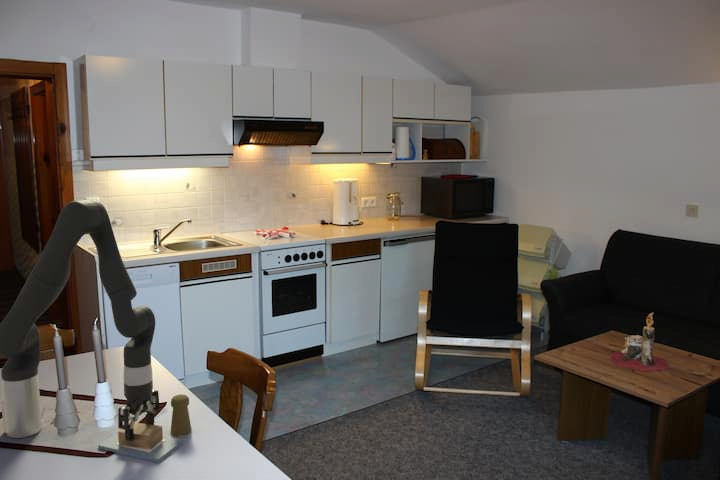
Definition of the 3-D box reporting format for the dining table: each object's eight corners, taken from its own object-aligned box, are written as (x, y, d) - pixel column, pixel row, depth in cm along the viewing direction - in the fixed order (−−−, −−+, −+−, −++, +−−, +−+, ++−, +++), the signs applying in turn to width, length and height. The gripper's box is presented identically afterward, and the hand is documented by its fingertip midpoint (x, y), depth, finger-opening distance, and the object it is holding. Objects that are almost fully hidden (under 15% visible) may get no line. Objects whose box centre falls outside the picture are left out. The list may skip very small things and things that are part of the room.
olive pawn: (185, 437, 180) (184, 401, 178) (166, 434, 181) (165, 399, 179) (195, 427, 186) (194, 393, 184) (176, 425, 187) (175, 391, 185)
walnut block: (118, 445, 172) (118, 431, 172) (130, 434, 178) (130, 422, 178) (151, 449, 171) (151, 436, 170) (162, 439, 176) (162, 425, 176)
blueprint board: (98, 448, 173) (98, 444, 173) (125, 430, 183) (125, 427, 183) (158, 462, 166) (158, 458, 166) (183, 443, 176) (183, 439, 176)
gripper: (143, 367, 179) (145, 420, 182) (108, 386, 166) (111, 442, 169) (165, 371, 176) (167, 424, 179) (131, 391, 163) (134, 448, 166)
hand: (140, 433), depth 174 cm, fingers open, 8 cm apart
